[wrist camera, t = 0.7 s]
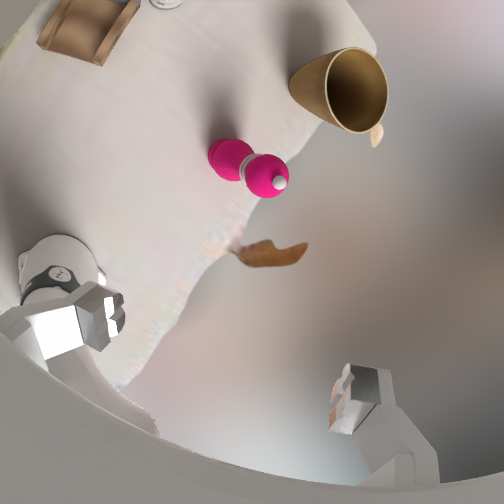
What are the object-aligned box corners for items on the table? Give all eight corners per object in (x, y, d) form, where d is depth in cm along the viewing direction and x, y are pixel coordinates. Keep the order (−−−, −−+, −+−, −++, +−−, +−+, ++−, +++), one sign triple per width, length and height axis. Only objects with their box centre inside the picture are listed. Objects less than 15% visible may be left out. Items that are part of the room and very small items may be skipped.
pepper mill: (197, 157, 48) (245, 188, 33) (224, 128, 48) (286, 144, 32) (223, 182, 53) (280, 222, 37) (249, 154, 52) (315, 181, 37)
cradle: (102, 66, 33) (100, 60, 28) (42, 48, 26) (32, 40, 21) (139, 7, 30) (144, -7, 25) (80, -12, 23) (77, -27, 17)
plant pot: (305, 41, 45) (364, 33, 32) (340, 94, 54) (398, 102, 42) (255, 81, 45) (309, 77, 33) (298, 136, 55) (354, 151, 43)
